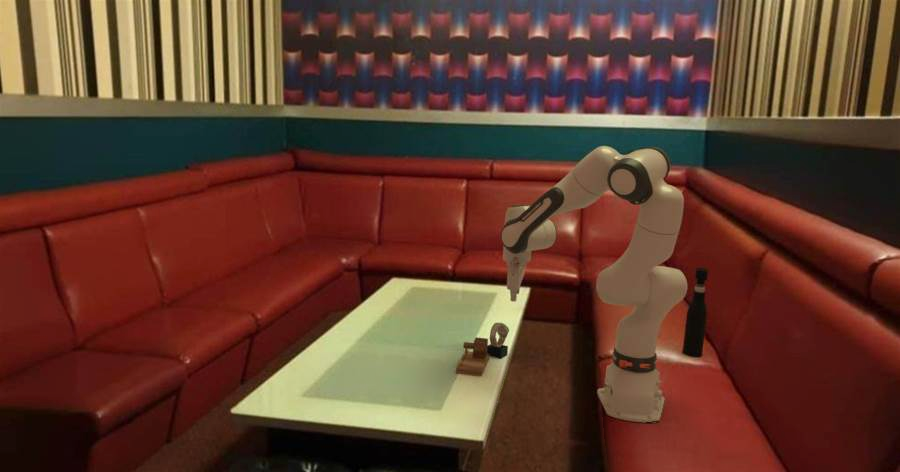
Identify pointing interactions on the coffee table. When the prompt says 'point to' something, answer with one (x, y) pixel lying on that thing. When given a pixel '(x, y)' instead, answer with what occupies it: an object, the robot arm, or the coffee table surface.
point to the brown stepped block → (477, 347)
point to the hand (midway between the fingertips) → (515, 297)
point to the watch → (496, 347)
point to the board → (471, 365)
